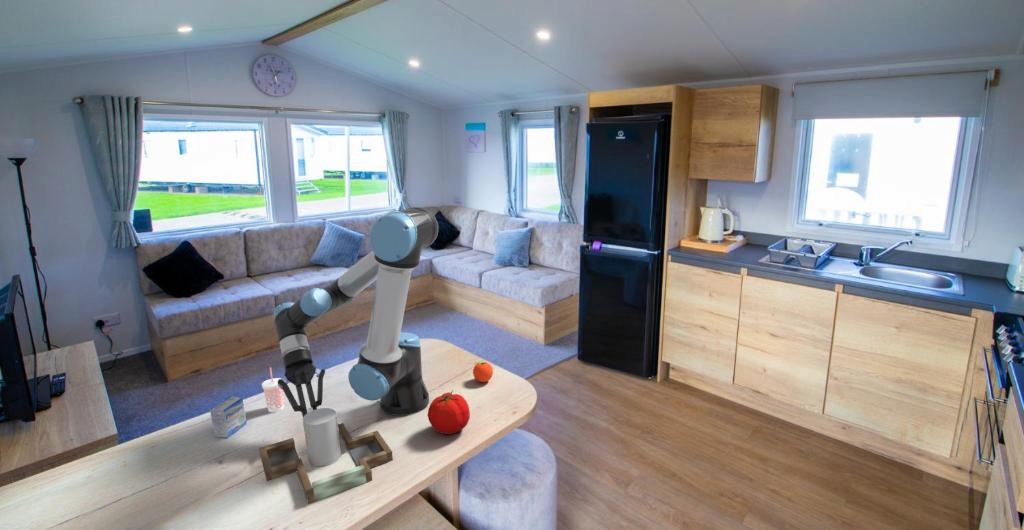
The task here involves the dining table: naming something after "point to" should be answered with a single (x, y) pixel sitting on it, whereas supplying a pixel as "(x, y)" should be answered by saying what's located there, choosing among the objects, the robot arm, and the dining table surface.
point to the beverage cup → (273, 394)
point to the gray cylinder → (321, 436)
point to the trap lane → (365, 454)
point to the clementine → (482, 371)
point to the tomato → (448, 413)
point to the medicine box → (228, 417)
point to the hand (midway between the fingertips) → (314, 432)
